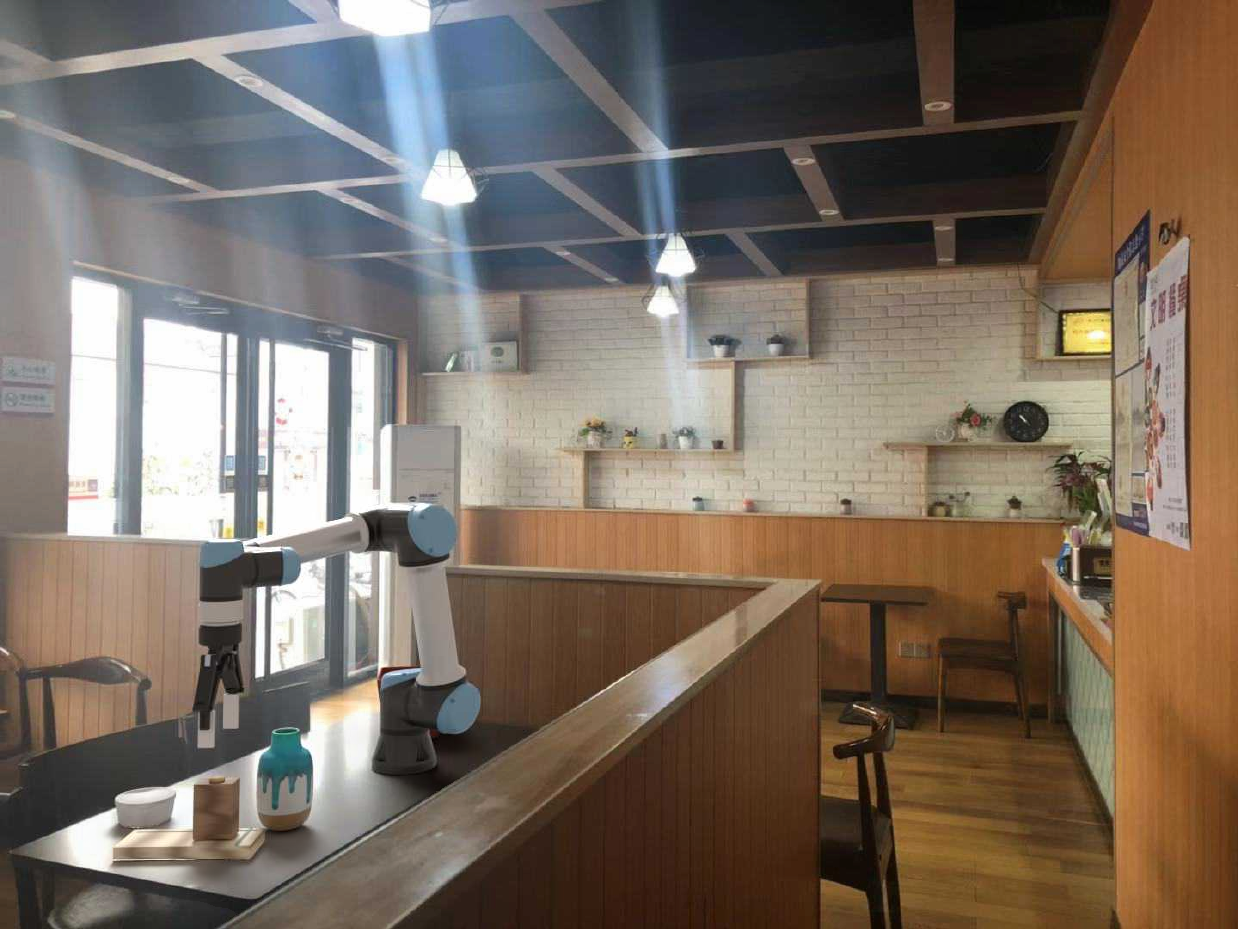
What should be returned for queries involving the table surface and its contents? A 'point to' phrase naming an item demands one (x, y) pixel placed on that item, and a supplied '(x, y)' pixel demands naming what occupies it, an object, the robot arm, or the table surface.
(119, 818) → the ramekin
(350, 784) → the table surface
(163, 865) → the table surface
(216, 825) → the tan boxy wooden piece
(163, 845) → the board
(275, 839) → the table surface
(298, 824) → the vase
